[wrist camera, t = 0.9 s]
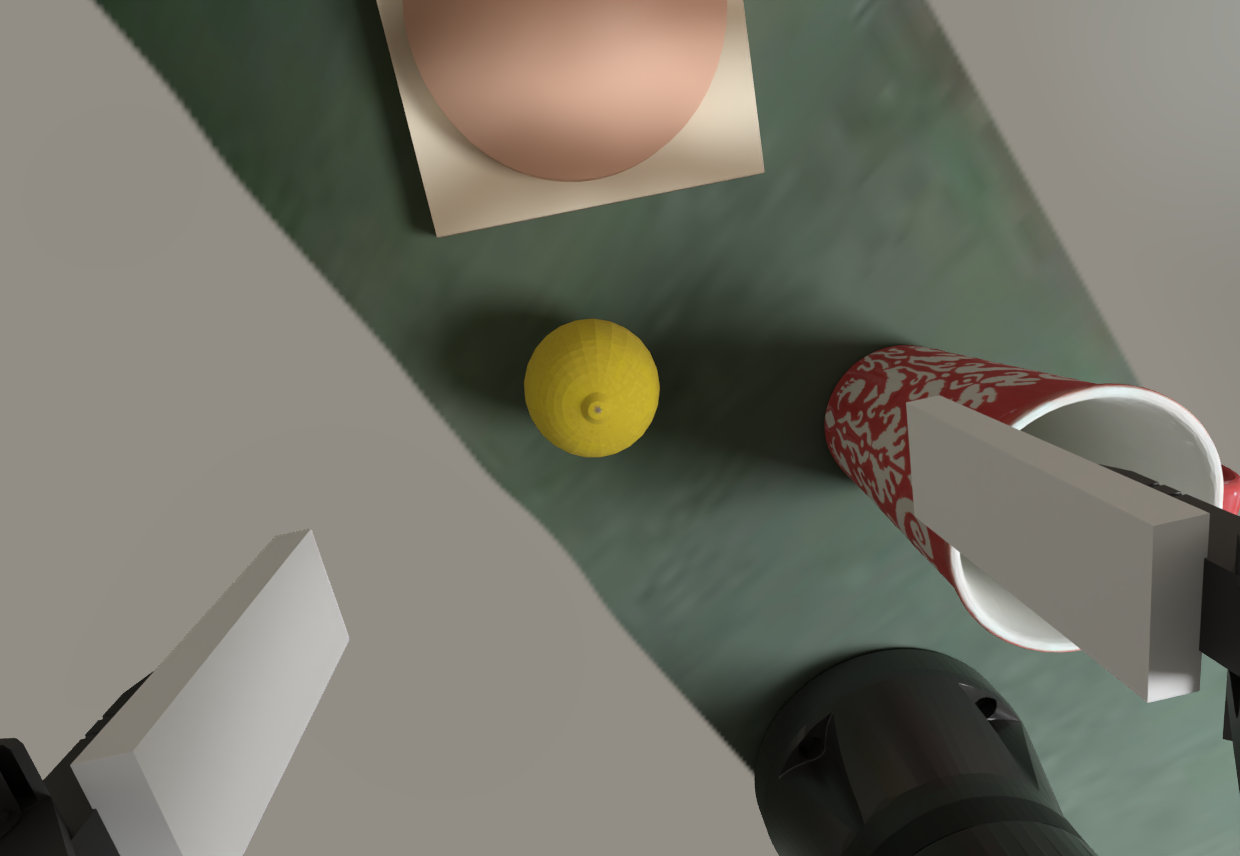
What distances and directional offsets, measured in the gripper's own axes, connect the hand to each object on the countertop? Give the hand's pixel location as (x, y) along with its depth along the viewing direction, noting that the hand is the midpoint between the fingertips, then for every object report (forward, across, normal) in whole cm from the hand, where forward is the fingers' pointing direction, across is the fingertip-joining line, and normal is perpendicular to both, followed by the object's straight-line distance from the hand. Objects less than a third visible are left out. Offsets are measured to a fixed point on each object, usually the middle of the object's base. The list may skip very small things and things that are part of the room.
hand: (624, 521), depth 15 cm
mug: (+18, -16, +6) cm, 25 cm away
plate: (+18, -2, -14) cm, 23 cm away
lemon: (+18, 0, 0) cm, 18 cm away
